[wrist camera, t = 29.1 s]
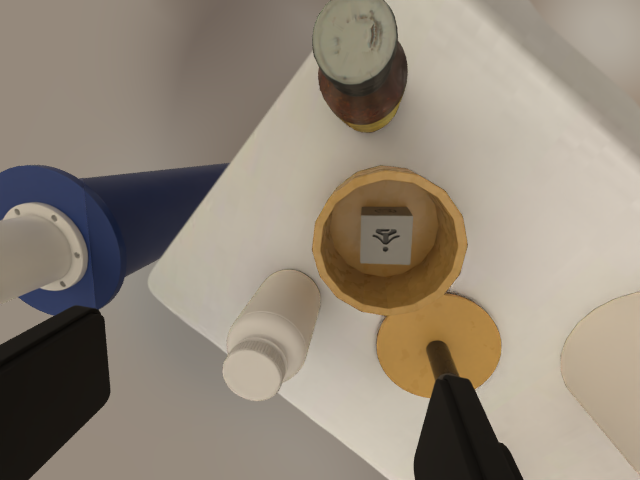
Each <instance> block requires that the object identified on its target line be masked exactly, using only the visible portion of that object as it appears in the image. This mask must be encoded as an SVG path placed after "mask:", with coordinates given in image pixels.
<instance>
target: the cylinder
mask: <svg viewBox="0 0 640 480" xmlns="http://www.w3.org/2000/svg"><path fill="white" fill-rule="evenodd" d="M561 374H562V376H563V379H564V382H565V385H566V387H567V388H568V390H569V391H570V392H571V393H572V395H573V396H574V397H575V398H576V400H577V401H578V402H579V403H580V405H581V406H582V407H583V408H584V409H585V411H586V412H587V413H588V414H589V415H590V417H591V418H592V419H593V420H594V421H595V423H596V424H597V425H598V426H599V427H600V429H601V430H602V431H603V432H604V433H605V435H606V436H607V437H608V438H609V439H610V441H611V442H612V443H613V444H614V445H615V447H616V448H617V449H618V450H619V451H620V453H621V454H622V455H623V456H624V458H625V459H626V460H627V461H628V462H629V464H630V465H631V466H632V467H633V468H634V470H635V471H636V472H637V473H638V474H639V476H640V292H636V293H633V294H629V295H626V296H623V297H619V298H616V299H613V300H611V301H609V302H608V303H606V304H604V305H602V306H600V307H598V308H596V309H594V310H593V311H592V312H591V313H589V314H588V315H587V316H586V317H585V318H584V319H582V320H581V321H580V322H579V323H578V324H577V325H576V327H575V328H574V329H573V331H572V332H571V334H570V335H569V336H568V338H567V339H566V342H565V345H564V348H563V351H562V354H561Z"/></svg>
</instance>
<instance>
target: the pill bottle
mask: <svg viewBox="0 0 640 480" xmlns="http://www.w3.org/2000/svg"><path fill="white" fill-rule="evenodd" d="M319 309H320V293H319V290H318V288H317V286H316V284H315V283H314V282H313V280H312V279H311V278H309V277H308V276H307V275H305V274H303V273H301V272H299V271H295V270H281V271H278V272H275V273H273V274H272V275H270V276H269V277H268V278H267V279H266V280H265V281H264V282H263V284H262V285H261V286H260V288H259V289H258V290H257V292H256V293H255V294H254V296H253V297H252V299H251V300H250V301H249V303H248V304H247V305H246V307H245V308H244V309H243V311H242V312H241V313H240V315H239V316H238V318H237V319H236V320H235V322H234V323H233V325H232V326H231V328H230V330H229V333H228V337H227V352H228V356H227V357H226V359H225V361H224V363H223V377H224V380H225V382H226V384H227V385H228V387H229V388H230V389H231V390H232V391H233V392H234V393H235V394H237V395H238V396H240V397H242V398H244V399H248V400H252V401H262V400H266V399H269V398H271V397H272V396H274V395H275V394H276V393H277V392H278V391H279V389H280V387H281V385H282V383H283V382H285V381H287V380H289V379H291V378H292V377H293V376H294V375H296V374H297V373H298V371H299V370H300V369H301V368H302V366H303V364H304V362H305V359H306V356H307V352H308V349H309V345H310V341H311V338H312V334H313V331H314V327H315V323H316V320H317V316H318V313H319Z"/></svg>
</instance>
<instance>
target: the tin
mask: <svg viewBox="0 0 640 480" xmlns="http://www.w3.org/2000/svg"><path fill="white" fill-rule="evenodd" d="M362 207H408V209H409V210H410V212H411V213H412V215H413V229H412V245H411V260H410V265H401V264H369V263H360V247H361V211H362ZM467 245H468V244H467V238H466V232H465V226H464V220H463V216H462V214H461V213H460V211H459V210H458V208H457V207H456V206H455V204H454V203H453V201H452V200H451V198H450V197H449V196H448V194H447V193H446V191H445V190H443V189H442V188H440V187H438V186H437V185H435V184H433V183H432V182H430V181H428V180H426V179H425V178H423V177H421V176H420V175H418V174H416V173H414V172H412V171H410V170H408V169H406V168H399V167H391V166H383V165H382V166H377V167H373V168H369V169H366V170H362V171H358V172H356V173H355V174H354V175H352V176H351V177H350V178H348V179H347V180H346V181H345V182H343V183H342V184H341V185H339V186H338V187H337V188H336V190H335V191H334V192H333V194H332V195H331V196H330V198H329V199H328V201H327V203H326V204H325V206H324V208H323V210H322V211H321V213H320V215H319V217H318V218H317V220H316V222H315V228H314V237H313V245H312V252H313V255H314V258H315V262H316V265H317V269H318V272H319V275H320V277H321V278H322V280H323V281H324V282H325V283H326V285H327V286H328V287H329V288H330V290H331V291H332V292H333V293H334V295H335V296H336V297H337V298H339V299H341V300H342V301H344V302H346V303H347V304H349V305H351V306H353V307H354V308H356V309H358V310H359V311H361V312H367V313H373V314H378V315H384V316H392V315H398V314H404V313H410V312H415V311H418V310H420V309H422V308H423V307H425V306H427V305H428V304H430V303H432V302H434V301H435V300H437V299H439V298H441V297H442V296H443V295H444V294H445V292H446V291H447V290H448V289H449V287H450V286H451V285H452V283H453V282H454V281H455V280H456V278H457V277H458V276H459V275H460V272H461V268H462V265H463V261H464V257H465V253H466V250H467Z"/></svg>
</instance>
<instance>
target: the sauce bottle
mask: <svg viewBox="0 0 640 480" xmlns="http://www.w3.org/2000/svg"><path fill="white" fill-rule="evenodd" d="M312 46H313V53H314V57H315V59H316V61H317V64H318V66H319V71H318V79H319V86H320V91H321V92H322V95H323V97H324V99H325V101H326V102H327V104H328V106H329V107H330V109H331V110H332V111H333V113H334V114H335V115H336V116H337V117H339V118H340V119H341V120H342V121H343V122H344V123H346V124H347V125H348V126H349V127H352V128H353V129H354V130H356V131H360V132H374V131H376V130H379V129H381V128H382V127H384V126H385V125H387V124H388V123H389V122H390V121H391V119H392V118H393V117H394V115H395V114H396V112H397V109H398V107H399V104H400V102H401V99H402V96H403V94H404V91H405V87H406V83H407V73H408V69H407V60H406V56H405V53H404V50H403V48H402V46H401V44H400V43H399V41H398V33H397V25H396V21H395V16H394V14H393V12H392V10H391V8H390V7H389V5H388V4H387V3H386V2H385V1H384V0H330V1H329V2H328V3H327V4H326V5H325V7H324V8H323V10H322V11H321V12H320V13H319V15H318V17H317V20H316V22H315V26H314V29H313V38H312Z"/></svg>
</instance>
